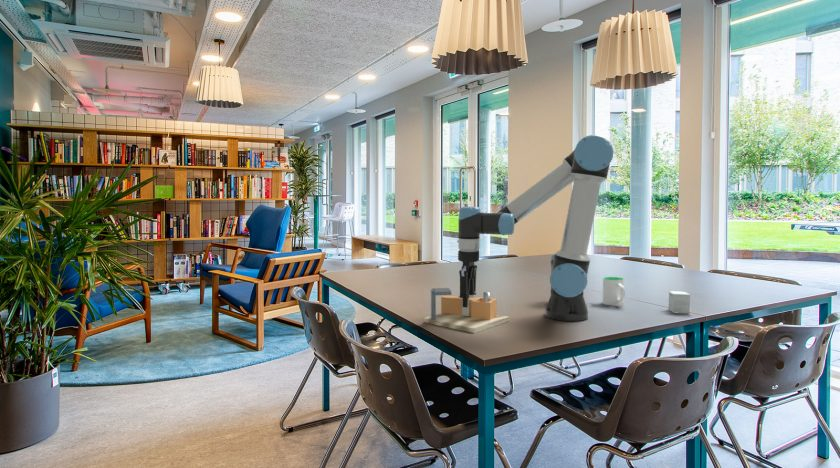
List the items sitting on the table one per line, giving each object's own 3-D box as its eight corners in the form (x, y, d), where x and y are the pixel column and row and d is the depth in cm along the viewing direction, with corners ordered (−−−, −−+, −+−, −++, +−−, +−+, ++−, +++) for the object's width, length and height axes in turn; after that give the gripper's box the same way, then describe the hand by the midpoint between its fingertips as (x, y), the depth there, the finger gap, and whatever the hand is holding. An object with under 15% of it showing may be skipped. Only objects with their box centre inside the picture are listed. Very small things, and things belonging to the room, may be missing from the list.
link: (496, 315, 185) (496, 298, 185) (490, 319, 179) (490, 302, 178) (446, 309, 194) (446, 294, 193) (439, 314, 188) (439, 298, 187)
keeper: (448, 315, 185) (448, 287, 184) (451, 320, 178) (451, 291, 177) (430, 316, 185) (430, 288, 184) (431, 321, 178) (431, 291, 177)
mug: (633, 307, 204) (633, 281, 204) (614, 308, 203) (615, 282, 202) (616, 301, 216) (616, 276, 215) (598, 301, 215) (599, 277, 214)
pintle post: (490, 317, 182) (491, 292, 182) (487, 318, 181) (487, 293, 180) (485, 316, 184) (485, 291, 183) (482, 317, 182) (482, 292, 182)
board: (509, 321, 183) (509, 316, 183) (474, 333, 168) (474, 328, 168) (459, 311, 198) (459, 308, 198) (423, 322, 182) (423, 318, 182)
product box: (667, 309, 200) (668, 290, 200) (684, 310, 199) (685, 291, 198) (672, 313, 194) (673, 293, 194) (689, 313, 193) (690, 294, 192)
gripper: (466, 246, 193) (465, 307, 196) (450, 252, 178) (449, 318, 180) (485, 247, 190) (484, 309, 193) (471, 253, 175) (470, 321, 177)
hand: (467, 313), depth 186 cm, fingers closed on link, 4 cm apart
